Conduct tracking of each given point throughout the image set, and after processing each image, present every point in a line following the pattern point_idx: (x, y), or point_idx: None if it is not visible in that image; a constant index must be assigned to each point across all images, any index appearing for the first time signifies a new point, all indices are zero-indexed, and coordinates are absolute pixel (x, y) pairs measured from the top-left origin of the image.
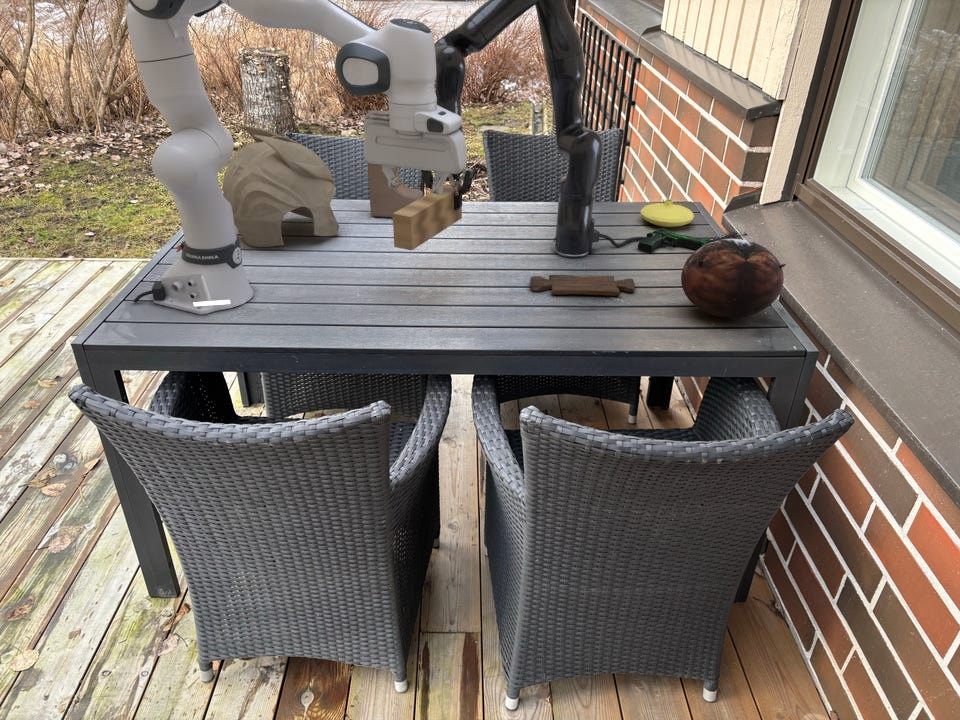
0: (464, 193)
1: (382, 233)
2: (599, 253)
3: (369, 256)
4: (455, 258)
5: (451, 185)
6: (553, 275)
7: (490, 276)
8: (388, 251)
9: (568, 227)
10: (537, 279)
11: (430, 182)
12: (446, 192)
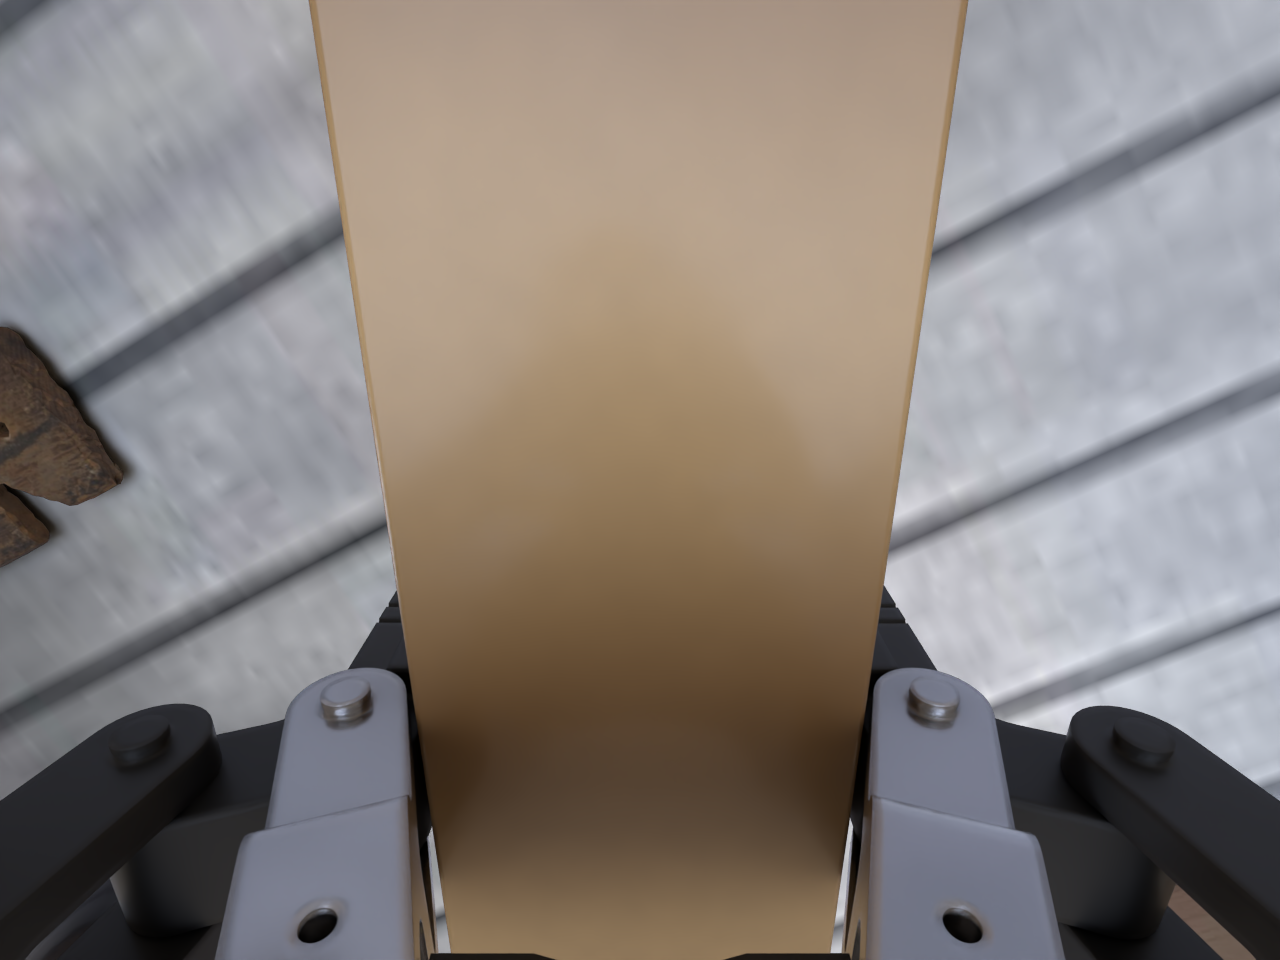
0: (124, 723)
1: (1276, 668)
2: None
3: (1249, 320)
4: None
5: (377, 811)
6: (9, 546)
7: (367, 415)
8: (1145, 453)
9: None
10: (47, 456)
11: (1124, 881)
12: (535, 624)
